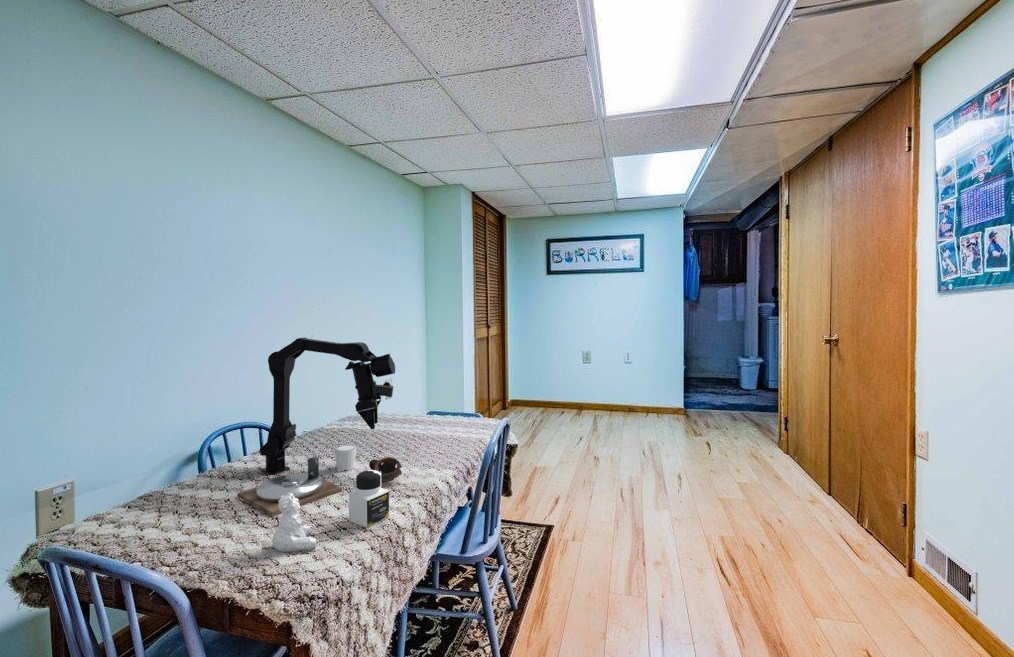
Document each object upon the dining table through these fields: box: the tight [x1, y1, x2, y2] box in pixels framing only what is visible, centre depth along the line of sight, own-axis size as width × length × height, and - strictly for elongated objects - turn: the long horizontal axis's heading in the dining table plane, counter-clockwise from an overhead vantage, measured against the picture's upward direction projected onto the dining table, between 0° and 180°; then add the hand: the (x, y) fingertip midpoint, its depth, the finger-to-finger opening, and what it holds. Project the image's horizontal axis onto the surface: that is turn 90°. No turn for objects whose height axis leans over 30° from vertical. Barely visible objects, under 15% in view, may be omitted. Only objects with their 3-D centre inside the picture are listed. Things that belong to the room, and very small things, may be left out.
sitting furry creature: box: [271, 493, 317, 553], centre depth 98 cm, size 10×9×12 cm
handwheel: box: [256, 456, 323, 502], centre depth 126 cm, size 17×17×7 cm
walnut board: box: [236, 478, 343, 518], centre depth 126 cm, size 20×20×1 cm
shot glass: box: [334, 444, 357, 472], centre depth 147 cm, size 7×7×7 cm
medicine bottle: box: [348, 469, 390, 529], centre depth 111 cm, size 7×7×12 cm
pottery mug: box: [368, 456, 403, 484], centre depth 137 cm, size 12×10×8 cm
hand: (374, 426), depth 145 cm, fingers open, 9 cm apart
